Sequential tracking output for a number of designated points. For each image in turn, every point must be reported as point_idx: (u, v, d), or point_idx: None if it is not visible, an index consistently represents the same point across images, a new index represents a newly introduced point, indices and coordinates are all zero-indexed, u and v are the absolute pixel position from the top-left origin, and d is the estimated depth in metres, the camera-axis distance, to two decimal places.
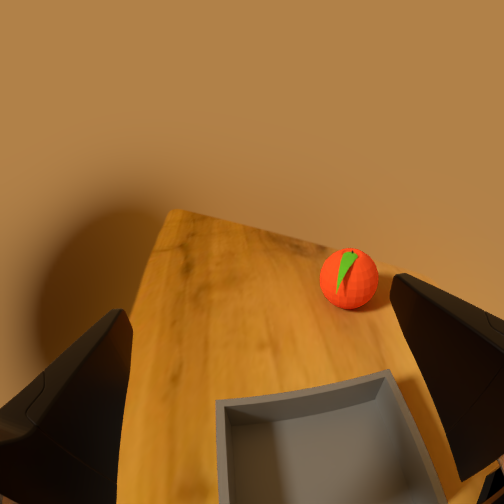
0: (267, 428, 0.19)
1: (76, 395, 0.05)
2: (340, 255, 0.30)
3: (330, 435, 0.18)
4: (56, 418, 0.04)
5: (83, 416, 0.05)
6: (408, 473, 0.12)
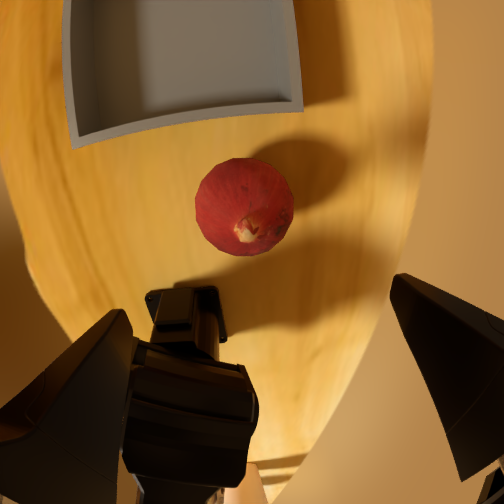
0: None
1: (76, 395, 0.05)
2: None
3: None
4: (56, 418, 0.04)
5: (83, 416, 0.05)
6: (276, 42, 0.14)
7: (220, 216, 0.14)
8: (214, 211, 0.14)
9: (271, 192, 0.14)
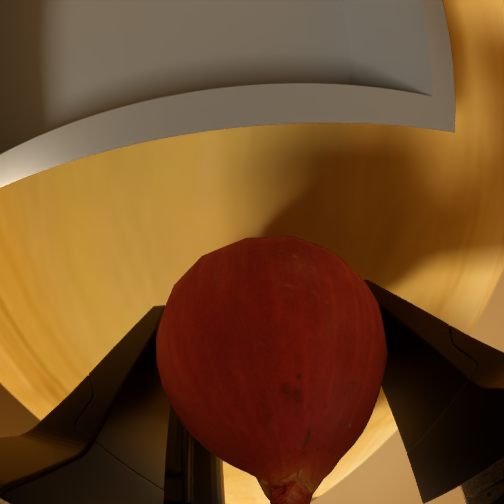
0: None
1: (130, 400, 0.05)
2: None
3: None
4: (112, 427, 0.04)
5: (136, 422, 0.05)
6: None
7: (219, 445, 0.04)
8: (201, 428, 0.04)
9: (363, 381, 0.04)
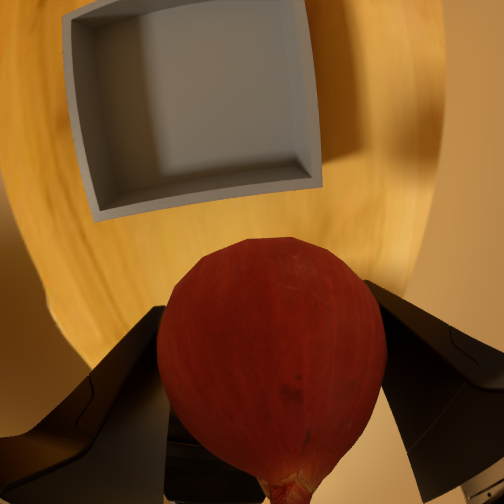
0: (134, 24, 0.12)
1: (130, 400, 0.05)
2: None
3: (208, 29, 0.13)
4: (112, 427, 0.04)
5: (136, 422, 0.05)
6: (294, 102, 0.15)
7: (220, 445, 0.04)
8: (201, 428, 0.04)
9: (363, 382, 0.04)
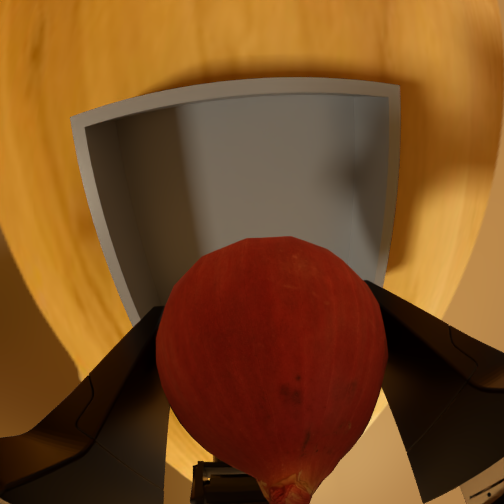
0: (170, 118, 0.12)
1: (130, 400, 0.05)
2: None
3: (269, 139, 0.13)
4: (112, 427, 0.04)
5: (136, 422, 0.05)
6: (356, 239, 0.15)
7: (218, 446, 0.04)
8: (200, 428, 0.04)
9: (363, 383, 0.04)
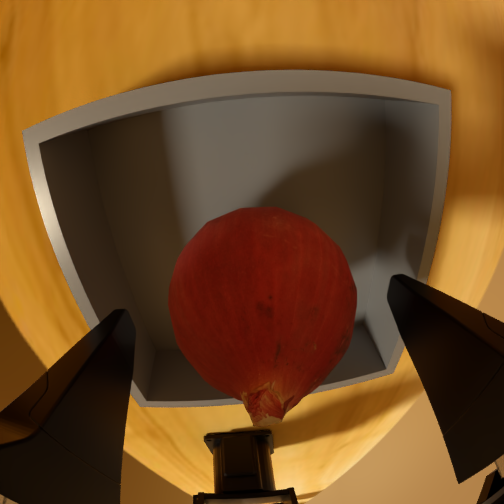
0: (154, 125, 0.09)
1: (80, 396, 0.05)
2: None
3: (282, 152, 0.10)
4: (60, 419, 0.04)
5: (87, 417, 0.05)
6: (381, 272, 0.13)
7: (211, 362, 0.06)
8: (198, 347, 0.06)
9: (325, 311, 0.06)
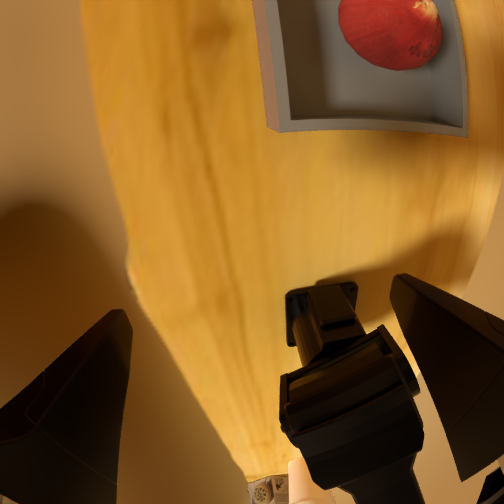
0: None
1: (76, 395, 0.05)
2: None
3: None
4: (56, 418, 0.04)
5: (83, 416, 0.05)
6: (436, 69, 0.13)
7: None
8: None
9: None
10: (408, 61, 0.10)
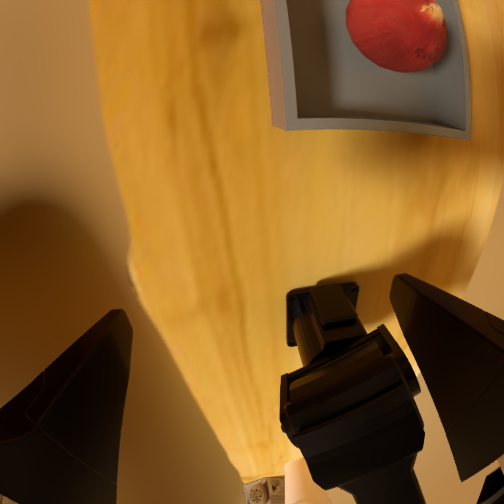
0: None
1: (76, 395, 0.05)
2: None
3: None
4: (56, 418, 0.04)
5: (83, 416, 0.05)
6: (440, 72, 0.14)
7: (401, 1, 0.07)
8: None
9: None
10: (414, 63, 0.10)
